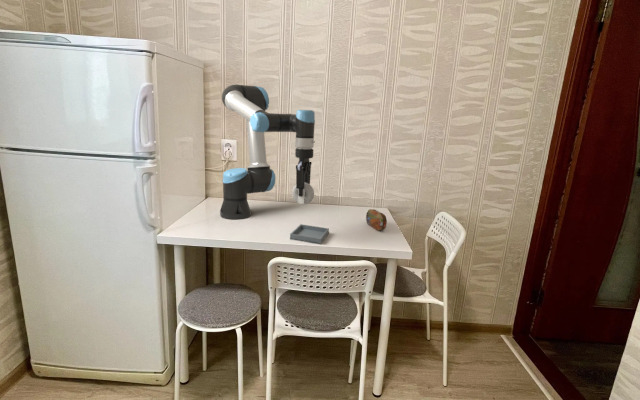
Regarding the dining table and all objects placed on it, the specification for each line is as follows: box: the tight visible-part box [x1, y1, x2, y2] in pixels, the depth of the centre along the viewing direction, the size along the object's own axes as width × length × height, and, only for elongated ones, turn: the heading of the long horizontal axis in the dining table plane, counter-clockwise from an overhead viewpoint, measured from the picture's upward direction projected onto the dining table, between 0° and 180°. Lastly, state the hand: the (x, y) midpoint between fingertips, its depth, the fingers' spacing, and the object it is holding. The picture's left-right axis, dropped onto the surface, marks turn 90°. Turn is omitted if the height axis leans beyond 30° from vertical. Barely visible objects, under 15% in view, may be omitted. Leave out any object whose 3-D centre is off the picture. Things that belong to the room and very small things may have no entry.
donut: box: [291, 182, 315, 205], centre depth 147 cm, size 10×4×10 cm, turn 73°
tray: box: [289, 223, 330, 245], centre depth 151 cm, size 14×14×2 cm
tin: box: [365, 208, 388, 232], centre depth 166 cm, size 15×3×8 cm, turn 23°
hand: (302, 202), depth 148 cm, fingers closed on donut, 3 cm apart
